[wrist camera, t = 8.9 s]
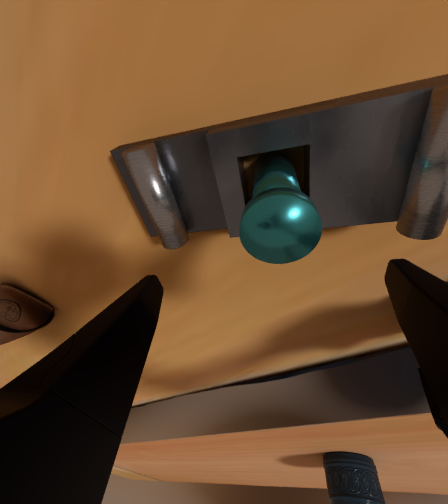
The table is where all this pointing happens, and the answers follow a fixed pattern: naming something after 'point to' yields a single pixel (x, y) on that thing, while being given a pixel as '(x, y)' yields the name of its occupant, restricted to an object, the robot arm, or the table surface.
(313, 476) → the table surface
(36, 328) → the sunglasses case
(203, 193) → the lower chain end
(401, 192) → the plate
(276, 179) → the pin
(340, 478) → the canister
